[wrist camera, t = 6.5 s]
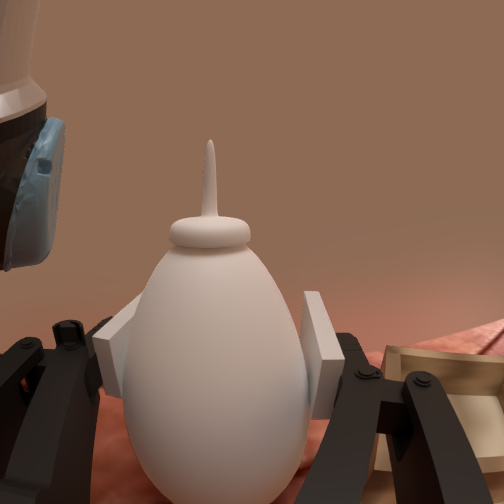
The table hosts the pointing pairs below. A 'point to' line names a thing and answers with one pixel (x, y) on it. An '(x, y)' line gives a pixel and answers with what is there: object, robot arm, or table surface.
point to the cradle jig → (465, 405)
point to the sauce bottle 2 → (215, 368)
